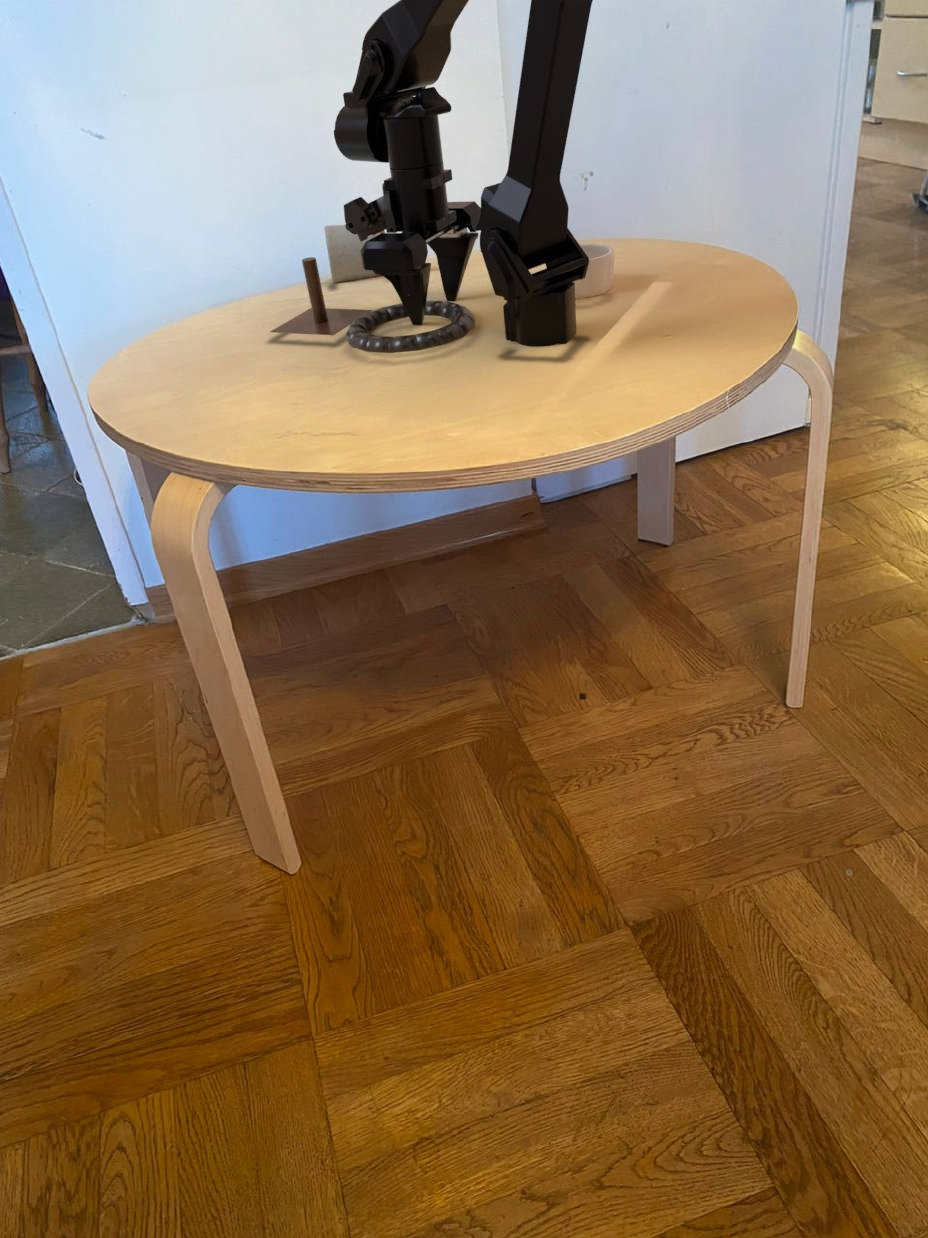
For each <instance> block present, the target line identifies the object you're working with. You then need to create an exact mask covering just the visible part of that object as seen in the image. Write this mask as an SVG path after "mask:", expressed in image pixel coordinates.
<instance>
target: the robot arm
mask: <svg viewBox="0 0 928 1238" xmlns="http://www.w3.org/2000/svg"><path fill="white" fill-rule="evenodd" d="M593 1H594V0H530V7H529V13H528V20H527V29H526V36H525V42H524V51H523V57H522V65H521V72H520V79H519V85H518V94H517V101H516V107H515V115H514V121H513V129H512V130H513V131H512V137H511V143H510V151H509V159H508V165H507V171H506V174H505V175H504V177H503V179H502V180H501V182H498V183H495V184H492V185H489V186H485V187H483V190H482V193H481V195H480V205H479V204H478V203H477V202H476V201H472V200H471V201H448V194H447V184H446V183H448V182H450V181H453V171H452V169H450V168H449V169H445V167H444V159H443V158H444V157H443V149H442V139H441V131H440V121H439V116H440V115H443V114H448V113H451V111H452V105H451V103H450V102H449V101H448V100H447V99H446V98H445V97H443V96H442V95H441V94H440V93H439V92H438V90H437V88H436V87H435V86H432V85H434V84H435V83H436V82H438V80H439V78H440V77H441V74H442V72H443V70H444V68H445V65H446V64H447V61H448V58H449V56H450V54H451V51H452V30H453V28H454V26H455V23H456V21H457V20H458V18H459V17H460V15H461V14H462V12H463V11H464V8H465V7H466V6H467V5H468V3H469V2H470V0H398V1H397V2H396V3H394V4H393V5H391V6H390V7H388V8H387V9H385V10H384V11H383V12H382V13H380V15H379V16H378V17H377V19H376V20H375V21H374V22H373V23H372V24H371V26H370V27H369V28H368V29H367V31H366V33H365V35H364V37H363V41H362V47H361V55H360V58H359V59H360V60H359V64H358V68H357V73H356V78H355V82H354V84H353V86H352V88H351V89H352V90H351V91H346V92H343V93H342V97H343V103H344V106H343V107H342V108H341V109H340V110H339V111H338V114H337V115H336V119H335V122H334V130H333V137H334V142H335V145H336V147H337V148H338V150H339V152H340V153H341V154H342V156H343V157H344V158H346V159H347V160H350V161H353V162H355V161H356V162H370V163H384V164H385V163H387V164H388V165H389V173H390V177H388V178H386V179H384V180H383V183H382V185H381V186H382V196H380V197H378V198H376V199H374V200H372V201H369V202H367V201H366V200H365V199H364V198H363V197H362V196H359V197H357V198H355V199H352V200H351V201H348V202H346V203H345V204H343V215H344V222H345V223H344V225H345V227H346V229H347V230H348V231H350V233H352V234H354V235H356V234H357V235H358V237H359V240H360V242H362V241H364V240H366V239H368V236H370V235H375V234H377V233H379V232H381V231H383V230H384V231H385V233H381V234H379V235H378V236H376V237H374V238H372V239H370V240H368V241H366V242H365V244H364V246H363V247H362V249H361V250H360V252H361V258H362V264H363V269H364V270H372V271H373V272H374V273H375V274H377V275H381V277H383V278H385V279H386V280H388V281H389V282H390V284H391V285H392V286H393V288H394V290H395V293H396V294H397V295H398V298H399V299H400V301H401V303H402V304H403V306H404V308H405V310H406V312H407V314H408V316H409V317H408V318H409V320H410V322H411V324H412V326H423V324H424V320H425V315H424V314H425V307H426V301H428V291H429V282H430V278H431V277H430V276H431V270H432V269H431V268H432V262H427V257H428V254H429V251H428V246H429V248H430V249H431V250H432V251H433V252H434V255H435V256H436V260H437V265H438V269H439V275H440V279H441V284H442V289H443V292H444V296H445V301H447V302H456V301H457V300H458V299H457V298H458V295H459V292H460V289H461V286H462V282H463V279H464V275H465V273H466V270H467V267H468V263H469V260H470V257H471V254H472V252H473V250H474V246H475V244H476V241H477V239H478V238H479V248H480V252H481V256H482V258H483V262H484V265H485V267H486V270H487V271H486V272H487V274H488V277H489V280H490V283H491V286H492V290H493V293H494V295H495V296H497V297H502V298H503V300H504V301H506V303H504V304H503V305H502V309H503V323H504V334H505V335H504V337H505V341H510V342H511V343H514V342H515V343H518V345H521V346H525V347H533V348H539V347H542V348H543V347H550V346H555V345H567V344H568V343H569V341H571V340H572V339H573V338H574V337H575V336H576V335H577V310H576V299H575V283H574V281H577V280H581V279H584V278H585V276H586V272H587V268H588V264H589V258H588V256H587V255H586V254H585V252H584V251H583V249H582V248H581V246H580V245H579V242H578V241H577V239H576V237H575V236H574V234H572V232H571V231H570V229H569V228H568V224H569V203H568V201H567V198H566V194H565V192H564V189H563V186H562V182H561V173H562V168H563V161H564V157H565V152H566V145H567V140H568V135H569V129H570V124H571V118H572V113H573V107H574V101H575V98H576V97H575V95H576V92H577V91H576V90H577V86H578V81H579V75H580V69H581V64H582V59H583V53H584V48H585V42H586V37H587V30H588V25H589V20H590V15H591V11H592V10H591V9H592V4H593ZM429 86H431V87H429ZM468 231H469V232H468ZM479 232H480V234H479ZM543 265H545V268H543V269H541V270H538V271H535V272H533V273H531V272H530V270H532V269H535V268H538V267H540V266H543Z"/></svg>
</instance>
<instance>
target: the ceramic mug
mask: <svg viewBox="0 0 928 1238" xmlns="http://www.w3.org/2000/svg"><path fill="white" fill-rule="evenodd" d="M345 225H346V224H333V225H331V224H330V225H325V226H324V228H323V229H324V230H323V231H324V235H325V236H324V237H325V243H326V244H325V245H326V250H327V257H328V262H329V269H330V275H331V278H330V279H331V283H332V284H337V283H343V282H349V281H357V280H362V279H370V278H375V277H380V276H381V277H382V275H377V274H375V273H374V272H373V271H372V270H364V269H363V264H362V258H361V252H360V250H361V249H362V247H363V246H364V244H365V242H366V241H368V240H370V239H372V238H374V237H376V236H378V235H379V234H381V233H386V230H383V231H381V232H379V233H377V234H375V235H370V236H368V239H366V240H364V241H362V242H360V240H359V237H358V235H357V234H356V235H354V234H352V233H350V231H348V230H347V229H346V227H345Z"/></svg>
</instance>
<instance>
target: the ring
mask: <svg viewBox="0 0 928 1238" xmlns="http://www.w3.org/2000/svg"><path fill="white" fill-rule="evenodd" d="M424 316H427V317H428V316H429V317H431V316H432V317H433V316H434V317H441V318H445V319H448V320H449V321H451V322H450V323H449V324H446V325H444V326H441V327H439V328H437V329H433V330H429V331H425V332H424V331H423V332H420V333H415V334H407V335H397V336H395V335H394V336H389V335H375V334H372V333H370V332H371V331H372V330H373V329H375V328H376V327H378V326H380V325H382V324H386V323H387V322H390V321H394V320H399V319H403V318H404V319H405V318H409V316H408V314H407V312H406V310H405V308H404V306H403V304H402V302H400V303H397V304H396V303H395V304H392V305H387V306H383V307H379V308H377V309H374V310H372V311H370V312H369V313H366V314H364V315H363V316H361V317H359V318H358V319H356V320H355V321H353V322H352V323H351V324H350V325H349V326H348V329H347V331H346V334H345V341H346V342H347V344H349V346H350V347H351V348H354V349H357V350H360V351H364V352H368V353H384V354H395V353H405V352H416V351H417V352H418V351H422V350H426V349H427V350H428V349H431V348H435V347H439V346H443V345H447V344H449V343H451V342H453V341H456V340H459V339H462V338H464V337H465V336H466V335H467V334H469V333H470V332H471V331H472V330H473V329H475V325H476V316H475V314H474V313H473V312H472V311H471V310H470V309H468V308H467V307H466V306H465V305H462V304H460V303H455V302H452V301H447V300H426V307H425V314H424Z"/></svg>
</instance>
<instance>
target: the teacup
mask: <svg viewBox="0 0 928 1238" xmlns="http://www.w3.org/2000/svg"><path fill="white" fill-rule="evenodd" d="M578 243H579V242H578ZM579 245H580V246H581V248H582V249H583V251H584V252H585V254H586V255H587V256H588V258H589V264H588V268H587V272H586V276H585V278H584V279H581V280H577V281H574V283H575V300H577V299H585V298H586V299H587V298H588V299H589V298H593V297H597V296H600V295H603V294H605V293H607V292H609V290H610V288H611V286H612V282H613V280H614V270H615V269H614V268H615V251H614V248H613V247H612V246H611V245H609V244H605V243H599V242H580V243H579Z"/></svg>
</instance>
